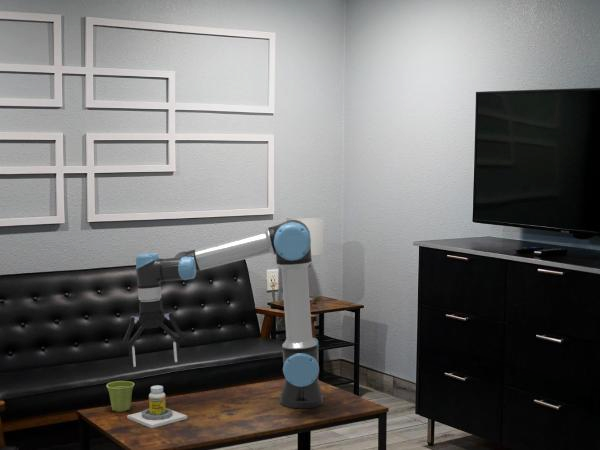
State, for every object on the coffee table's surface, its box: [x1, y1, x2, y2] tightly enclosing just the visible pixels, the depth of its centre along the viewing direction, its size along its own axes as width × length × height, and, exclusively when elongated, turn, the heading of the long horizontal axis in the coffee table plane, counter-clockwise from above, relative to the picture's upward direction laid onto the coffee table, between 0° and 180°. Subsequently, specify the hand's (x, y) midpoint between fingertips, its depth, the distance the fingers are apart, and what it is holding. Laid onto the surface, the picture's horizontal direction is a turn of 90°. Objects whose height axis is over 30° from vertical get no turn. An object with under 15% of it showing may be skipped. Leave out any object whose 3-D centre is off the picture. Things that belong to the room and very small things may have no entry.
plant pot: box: [106, 380, 135, 413], centre depth 302 cm, size 9×9×9 cm
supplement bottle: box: [148, 384, 167, 416], centre depth 292 cm, size 5×5×10 cm
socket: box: [126, 407, 188, 429], centre depth 292 cm, size 14×14×2 cm
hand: (155, 363), depth 294 cm, fingers open, 13 cm apart
